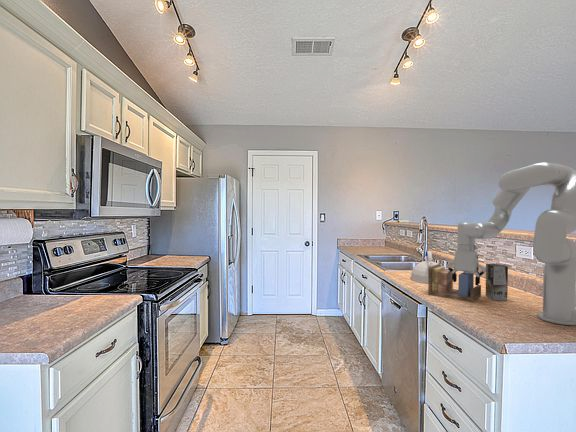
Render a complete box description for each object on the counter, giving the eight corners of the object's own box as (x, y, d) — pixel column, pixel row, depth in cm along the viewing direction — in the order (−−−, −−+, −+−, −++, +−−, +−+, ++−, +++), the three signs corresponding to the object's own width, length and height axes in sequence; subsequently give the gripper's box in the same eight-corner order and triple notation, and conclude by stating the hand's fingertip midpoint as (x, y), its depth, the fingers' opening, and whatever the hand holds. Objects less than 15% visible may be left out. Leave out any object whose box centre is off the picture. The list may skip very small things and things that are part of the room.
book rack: (480, 296, 156) (481, 268, 156) (473, 302, 146) (473, 272, 146) (437, 289, 170) (438, 264, 170) (428, 294, 160) (428, 267, 160)
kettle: (411, 283, 186) (412, 252, 186) (409, 276, 206) (409, 248, 206) (450, 285, 180) (450, 253, 180) (444, 278, 200) (444, 249, 200)
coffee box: (508, 301, 149) (508, 266, 148) (492, 300, 150) (493, 265, 150) (499, 296, 158) (499, 263, 157) (485, 295, 159) (485, 262, 159)
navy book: (473, 293, 157) (473, 272, 157) (467, 297, 150) (467, 275, 149) (464, 291, 160) (464, 271, 159) (458, 295, 152) (458, 274, 152)
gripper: (488, 248, 151) (488, 284, 151) (449, 245, 163) (448, 279, 163) (484, 250, 146) (484, 287, 146) (444, 247, 158) (444, 281, 158)
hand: (465, 283), depth 155 cm, fingers open, 9 cm apart
